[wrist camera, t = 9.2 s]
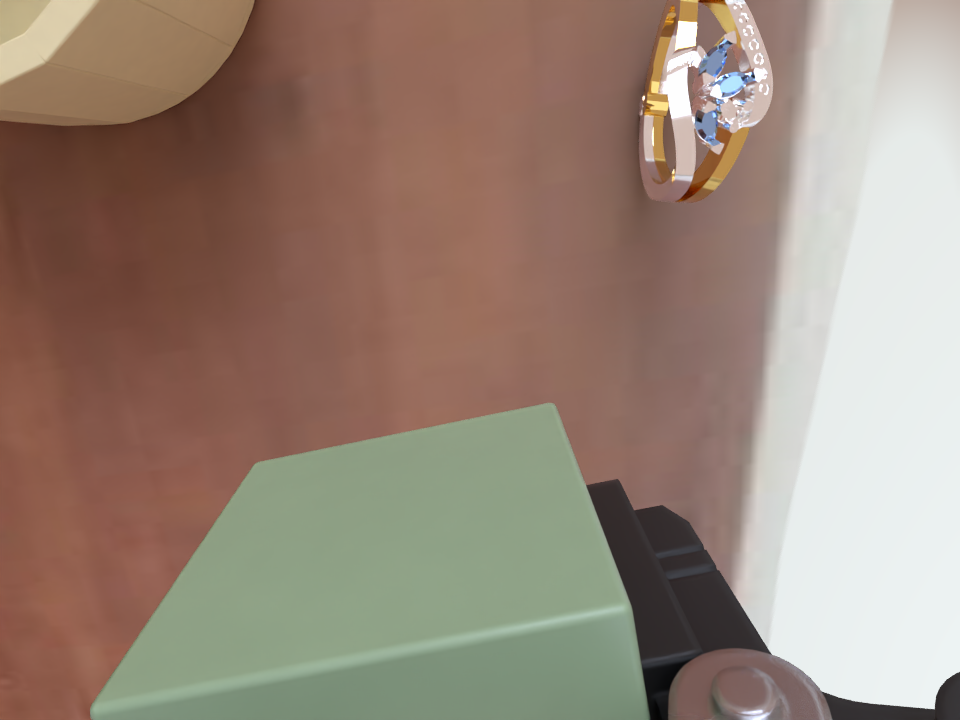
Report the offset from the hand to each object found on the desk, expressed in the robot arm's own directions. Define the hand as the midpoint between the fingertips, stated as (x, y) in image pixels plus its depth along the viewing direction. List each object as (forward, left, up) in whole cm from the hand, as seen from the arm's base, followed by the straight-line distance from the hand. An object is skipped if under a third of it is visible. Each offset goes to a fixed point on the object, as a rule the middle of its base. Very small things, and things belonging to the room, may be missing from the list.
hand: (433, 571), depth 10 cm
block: (0, 0, 0) cm, 0 cm away
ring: (+10, +6, -19) cm, 22 cm away
